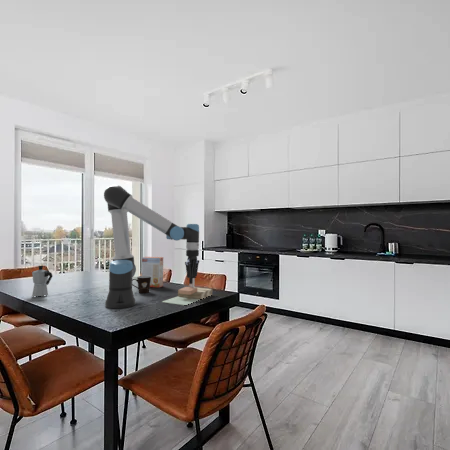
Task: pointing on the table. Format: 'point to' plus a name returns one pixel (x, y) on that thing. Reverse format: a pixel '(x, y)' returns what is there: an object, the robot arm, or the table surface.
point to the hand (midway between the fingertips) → (191, 288)
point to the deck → (198, 293)
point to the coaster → (187, 290)
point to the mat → (180, 300)
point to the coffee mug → (143, 283)
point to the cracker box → (153, 270)
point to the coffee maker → (41, 281)
